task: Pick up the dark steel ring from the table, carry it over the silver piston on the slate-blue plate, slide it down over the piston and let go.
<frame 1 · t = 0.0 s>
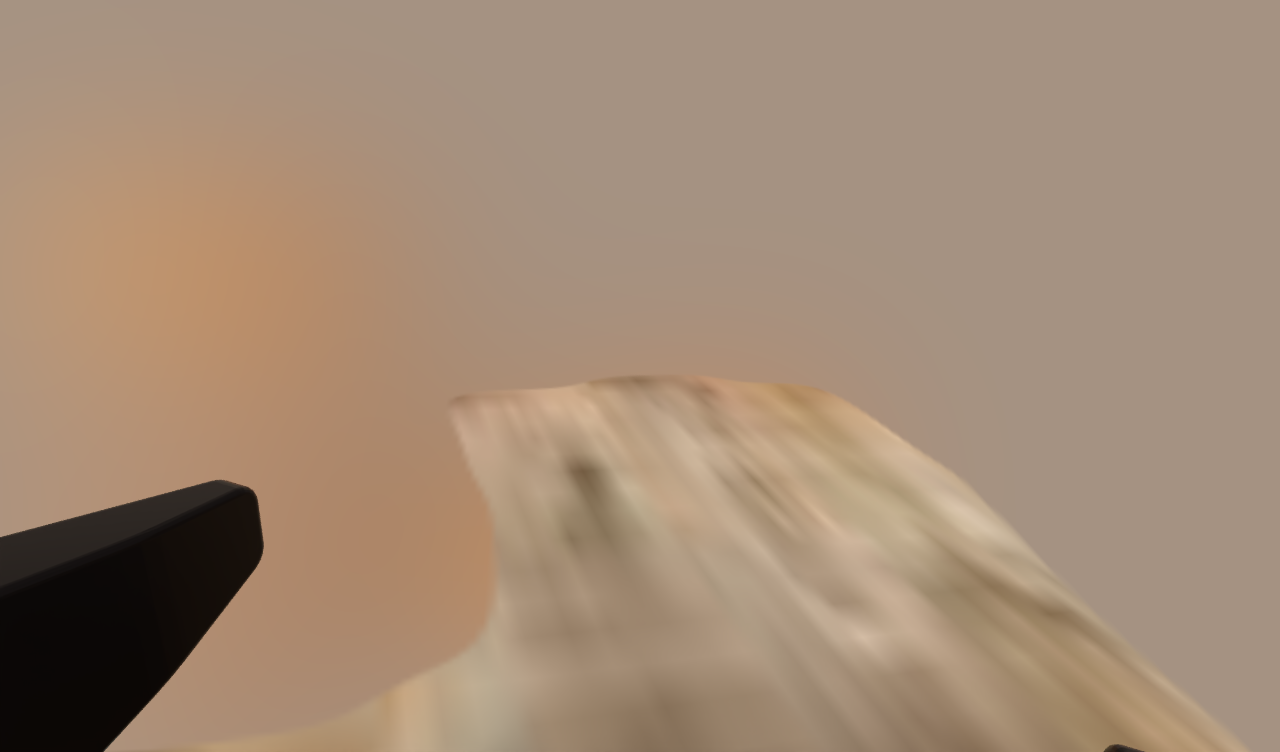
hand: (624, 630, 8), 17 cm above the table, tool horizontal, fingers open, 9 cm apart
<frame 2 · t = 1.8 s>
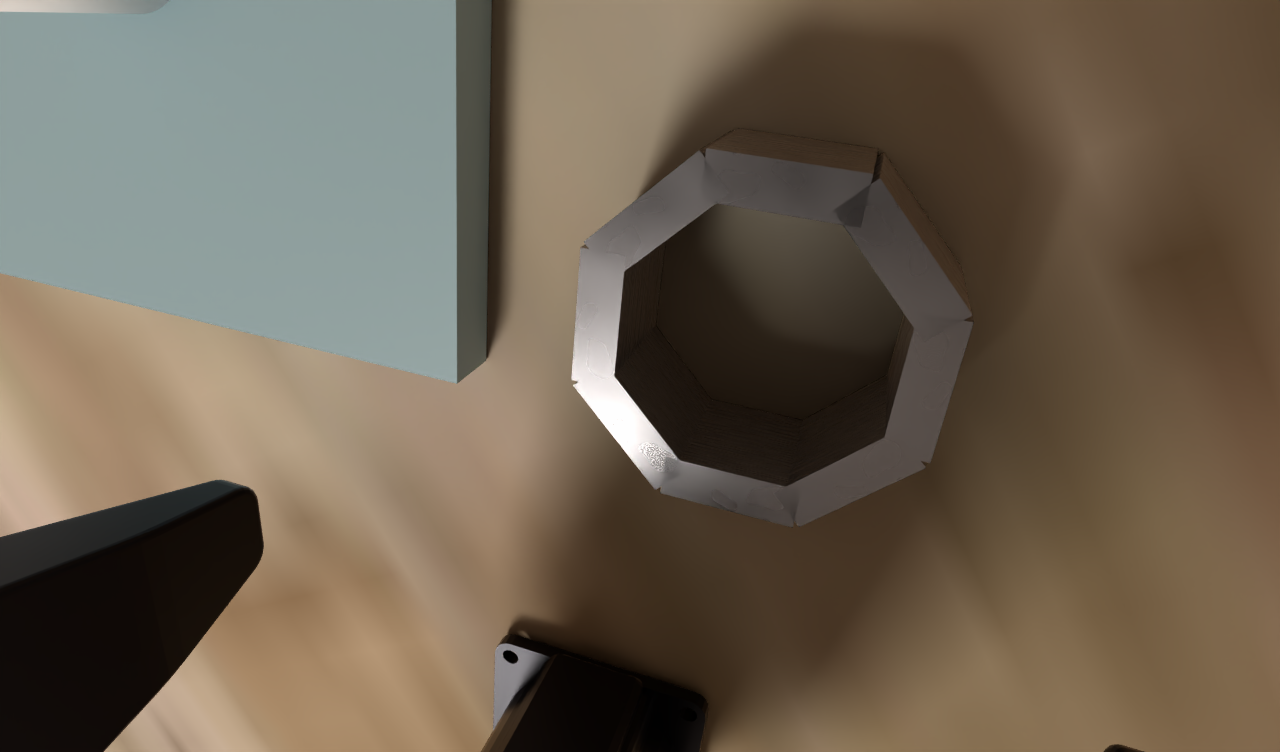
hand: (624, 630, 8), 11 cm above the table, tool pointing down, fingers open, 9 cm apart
ring: (776, 304, 17), on the table
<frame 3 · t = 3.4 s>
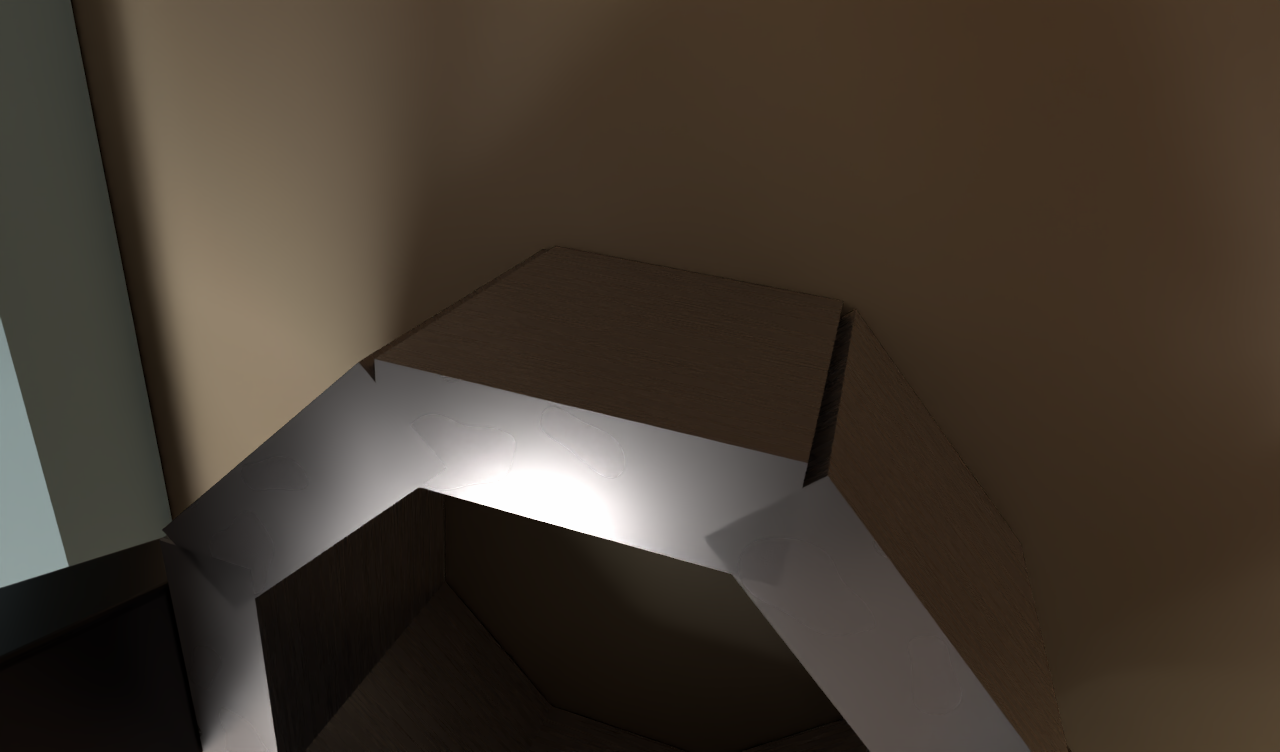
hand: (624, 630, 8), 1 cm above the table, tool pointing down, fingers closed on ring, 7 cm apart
ring: (652, 570, 9), on the table, touching gripper
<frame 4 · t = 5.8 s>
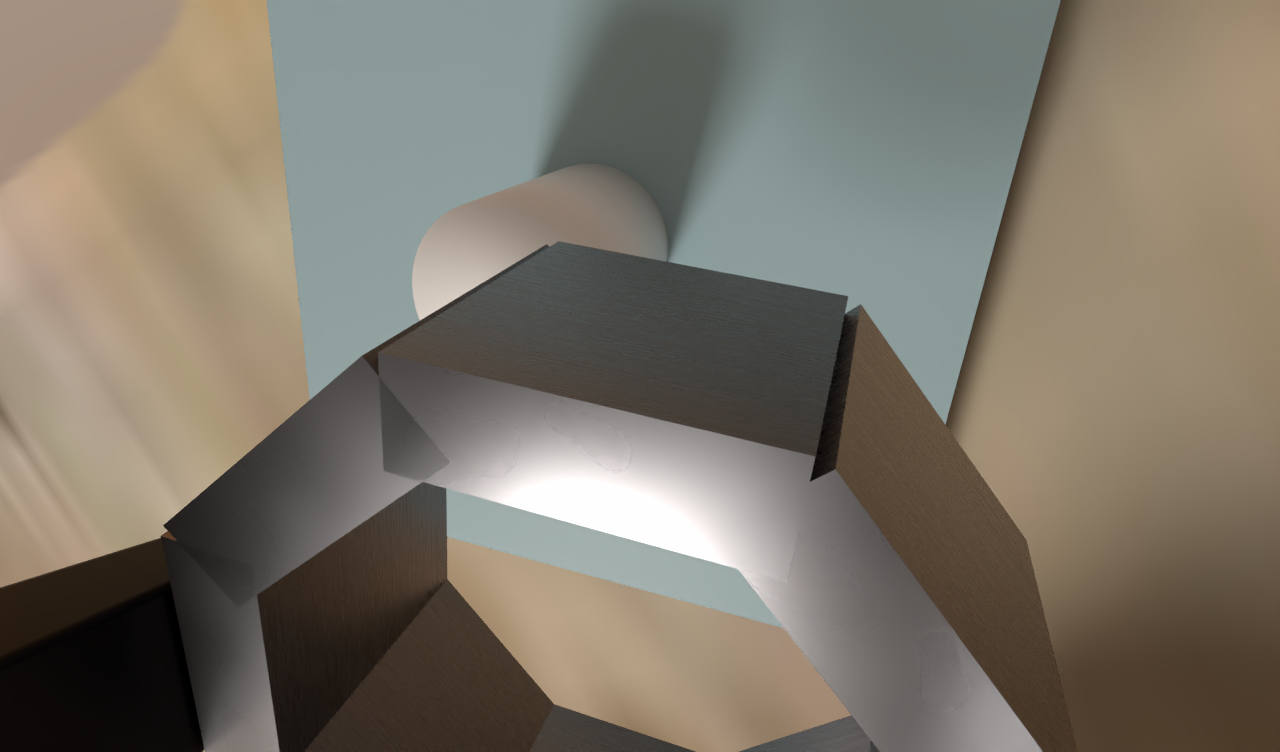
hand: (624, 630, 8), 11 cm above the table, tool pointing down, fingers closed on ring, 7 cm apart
piston plate: (616, 228, 18), on the table
ring: (655, 567, 9), point 10 cm above the table, touching gripper
when the fingers open (4 cm above the table, at t = 8.5 s): ring stays where it is, resting on piston plate.
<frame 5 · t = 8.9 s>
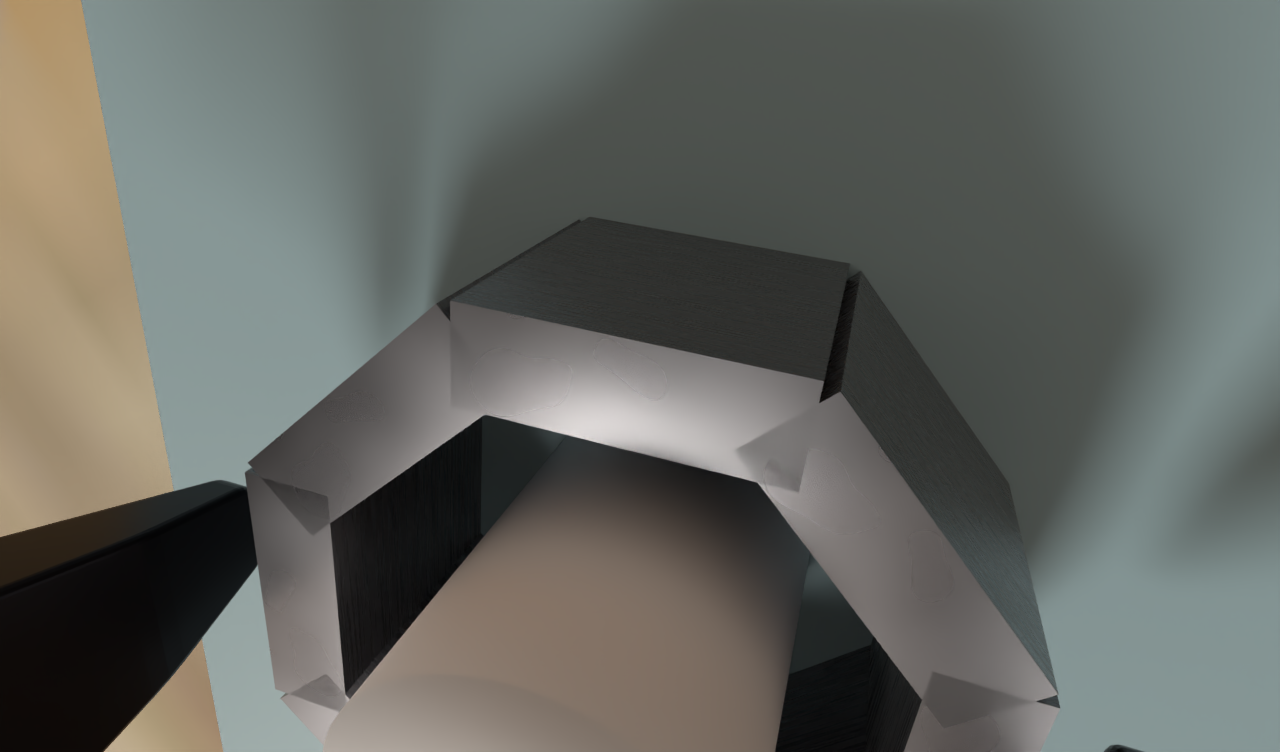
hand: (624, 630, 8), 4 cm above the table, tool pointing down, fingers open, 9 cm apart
piston plate: (700, 462, 11), on the table
ring: (674, 516, 10), point 1 cm above the table, touching piston plate
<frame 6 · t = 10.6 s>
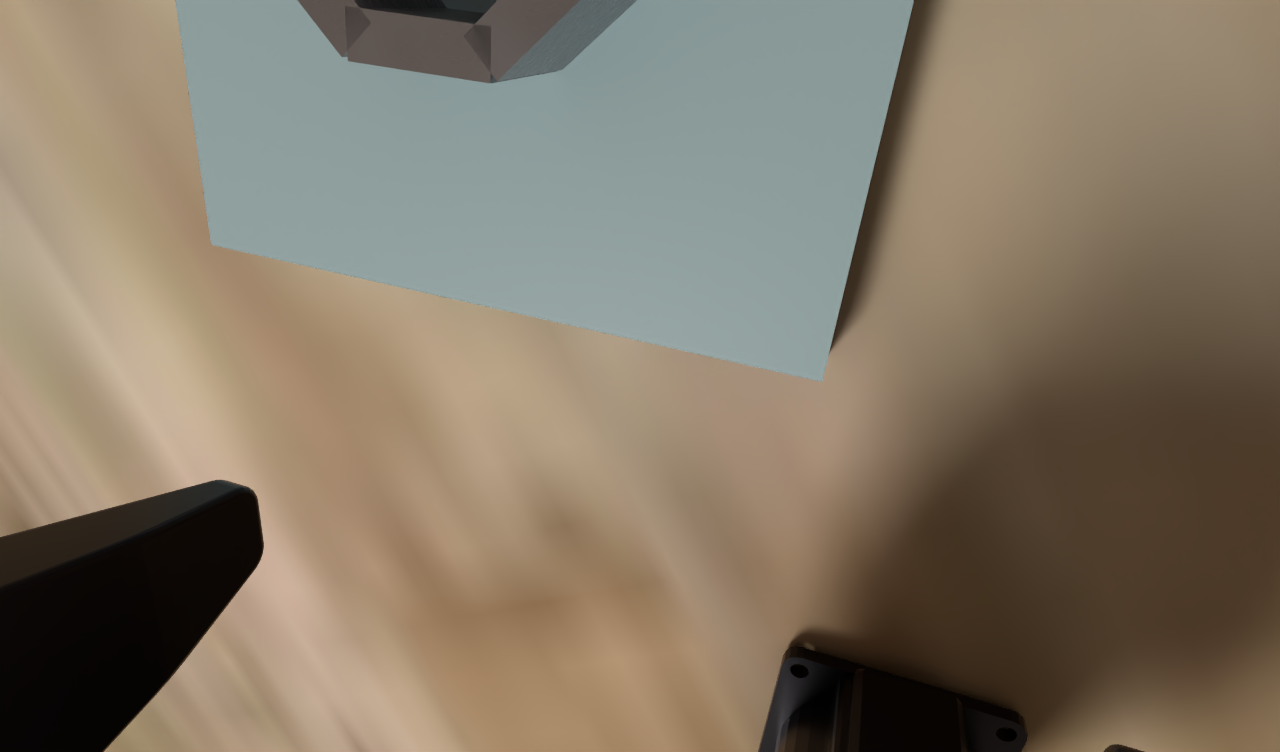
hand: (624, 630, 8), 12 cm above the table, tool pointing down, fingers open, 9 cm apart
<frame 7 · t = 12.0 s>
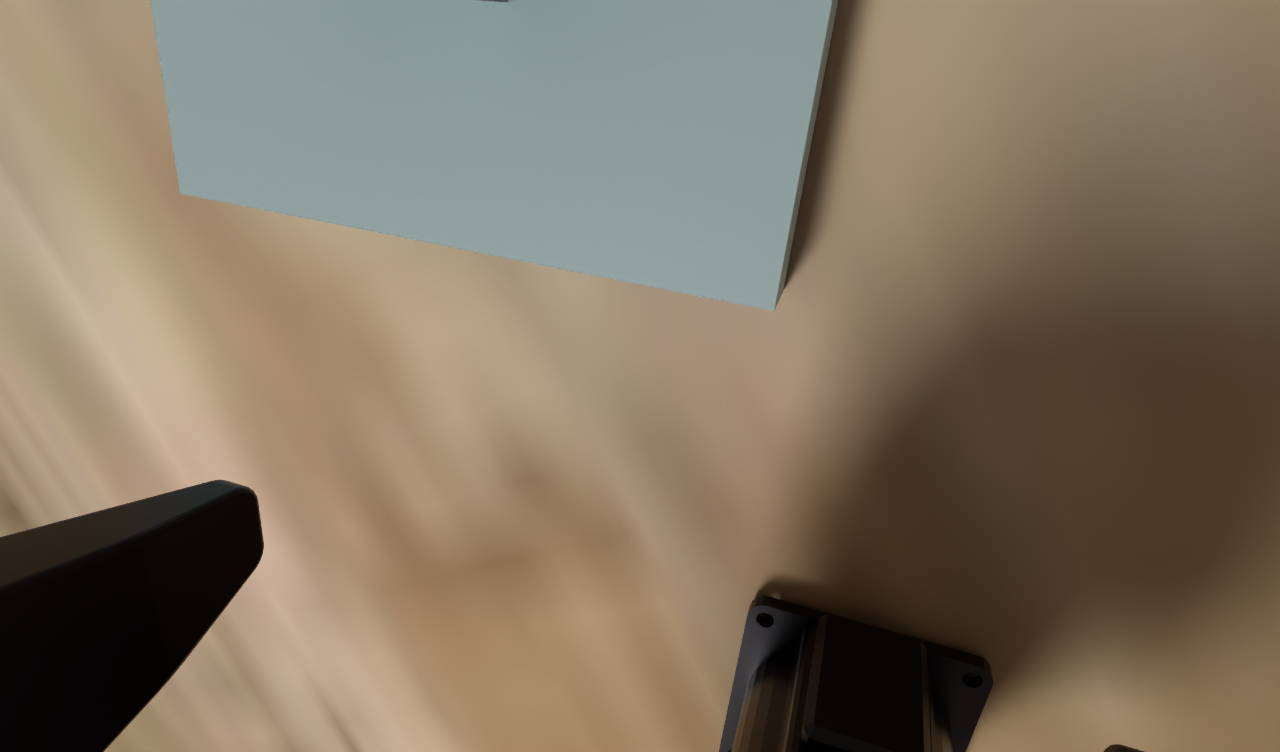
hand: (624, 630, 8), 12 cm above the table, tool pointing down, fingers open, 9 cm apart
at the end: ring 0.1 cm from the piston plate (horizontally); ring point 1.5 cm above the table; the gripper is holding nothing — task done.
